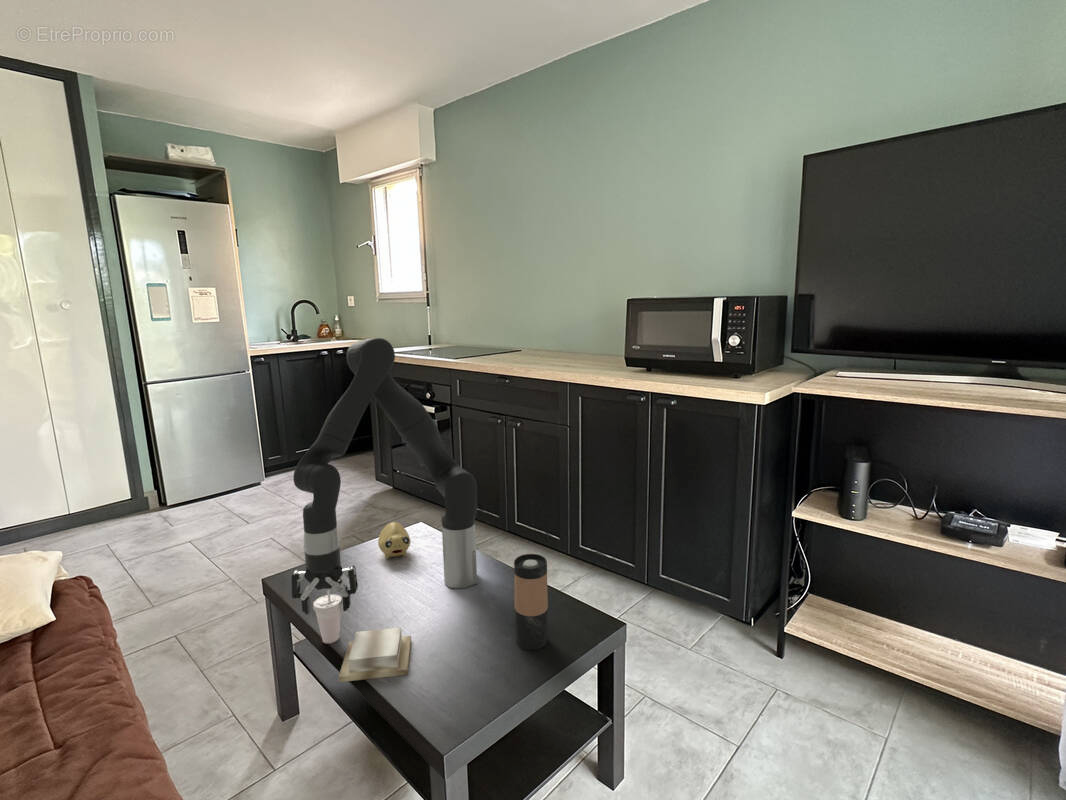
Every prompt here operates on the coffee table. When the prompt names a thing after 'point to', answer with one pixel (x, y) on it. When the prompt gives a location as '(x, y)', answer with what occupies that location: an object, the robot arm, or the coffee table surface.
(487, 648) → the coffee table surface
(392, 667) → the base
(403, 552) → the yellow toy creature
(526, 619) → the travel mug
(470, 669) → the coffee table surface
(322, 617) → the smoothie
